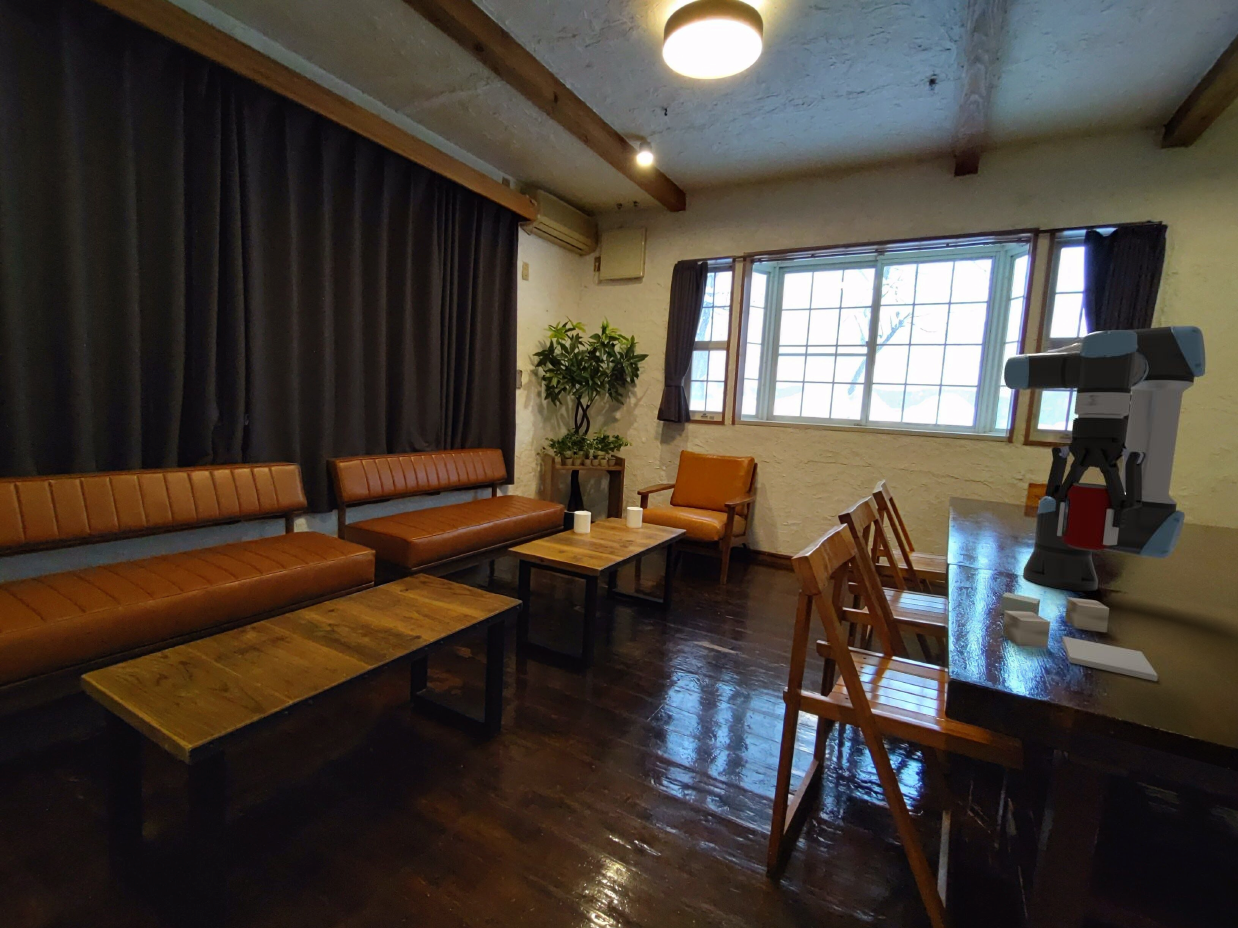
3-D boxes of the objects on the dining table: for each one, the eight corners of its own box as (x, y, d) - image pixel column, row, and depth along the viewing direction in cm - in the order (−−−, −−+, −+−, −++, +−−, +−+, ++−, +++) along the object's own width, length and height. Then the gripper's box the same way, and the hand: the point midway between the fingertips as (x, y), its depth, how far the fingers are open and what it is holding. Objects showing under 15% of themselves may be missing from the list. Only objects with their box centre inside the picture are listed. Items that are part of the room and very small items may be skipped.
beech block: (1064, 620, 115) (1067, 597, 114) (1093, 623, 113) (1096, 600, 113) (1076, 628, 110) (1078, 604, 109) (1106, 632, 108) (1109, 608, 108)
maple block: (1002, 635, 105) (1004, 610, 105) (1029, 637, 105) (1031, 612, 104) (1019, 646, 100) (1021, 620, 100) (1047, 648, 100) (1050, 621, 100)
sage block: (1004, 609, 120) (1006, 592, 120) (1038, 617, 116) (1040, 599, 116) (1000, 613, 117) (1002, 595, 117) (1034, 621, 113) (1036, 603, 113)
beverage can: (1081, 543, 106) (1088, 482, 105) (1118, 552, 99) (1126, 487, 98) (1052, 543, 104) (1059, 481, 103) (1088, 552, 98) (1096, 486, 97)
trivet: (1061, 641, 103) (1062, 636, 103) (1140, 657, 97) (1141, 651, 97) (1069, 662, 94) (1070, 656, 94) (1157, 681, 88) (1157, 675, 88)
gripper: (1029, 415, 107) (1017, 529, 109) (1157, 417, 89) (1140, 553, 91) (1053, 417, 110) (1041, 528, 112) (1182, 418, 92) (1165, 551, 94)
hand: (1085, 539), depth 102 cm, fingers closed on beverage can, 7 cm apart
